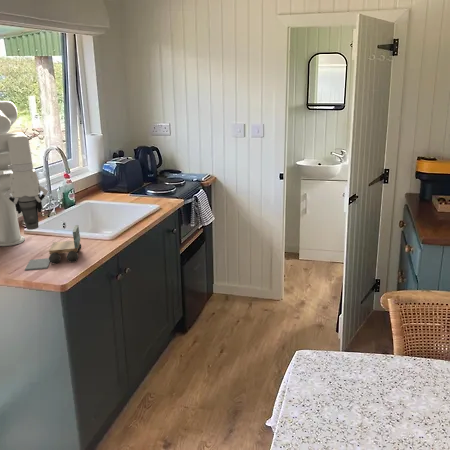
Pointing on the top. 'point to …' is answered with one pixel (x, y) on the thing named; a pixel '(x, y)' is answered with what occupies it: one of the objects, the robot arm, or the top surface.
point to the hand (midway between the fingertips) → (29, 211)
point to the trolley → (66, 248)
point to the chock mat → (38, 264)
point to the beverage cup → (29, 211)
